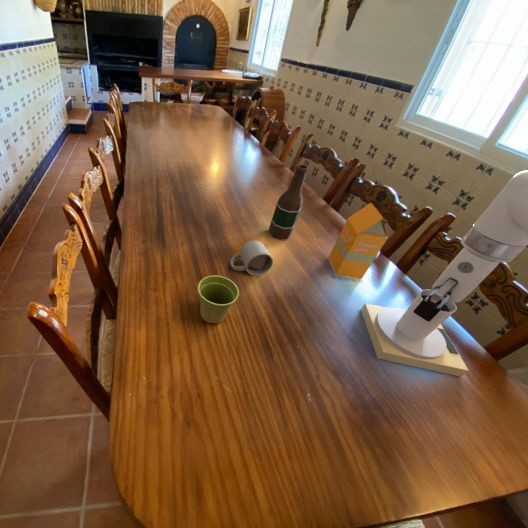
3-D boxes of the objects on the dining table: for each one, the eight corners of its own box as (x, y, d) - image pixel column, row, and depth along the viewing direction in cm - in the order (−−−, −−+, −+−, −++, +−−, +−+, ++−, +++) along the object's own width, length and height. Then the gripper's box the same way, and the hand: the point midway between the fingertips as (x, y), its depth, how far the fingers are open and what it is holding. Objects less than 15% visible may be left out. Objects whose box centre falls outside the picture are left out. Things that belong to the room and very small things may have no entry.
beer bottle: (267, 237, 100) (290, 169, 85) (268, 226, 106) (288, 159, 91) (291, 242, 99) (318, 173, 84) (290, 230, 105) (315, 163, 90)
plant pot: (239, 315, 73) (247, 290, 67) (215, 337, 67) (222, 311, 62) (209, 294, 78) (214, 270, 72) (185, 313, 72) (189, 288, 66)
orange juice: (352, 260, 94) (385, 203, 81) (362, 279, 87) (399, 220, 74) (327, 257, 94) (356, 200, 82) (335, 275, 87) (367, 216, 75)
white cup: (423, 324, 70) (451, 294, 64) (430, 346, 65) (461, 316, 59) (392, 315, 72) (416, 285, 65) (397, 336, 67) (424, 306, 60)
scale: (430, 323, 75) (439, 314, 73) (461, 376, 64) (472, 368, 62) (360, 309, 77) (366, 300, 75) (377, 358, 66) (385, 349, 64)
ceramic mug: (259, 257, 91) (265, 237, 87) (269, 275, 85) (276, 254, 80) (226, 259, 90) (230, 238, 85) (234, 277, 84) (239, 255, 79)
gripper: (500, 269, 46) (432, 337, 57) (533, 241, 54) (468, 304, 65) (447, 244, 51) (393, 311, 62) (484, 221, 59) (431, 284, 70)
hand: (431, 307), depth 63 cm, fingers open, 9 cm apart
